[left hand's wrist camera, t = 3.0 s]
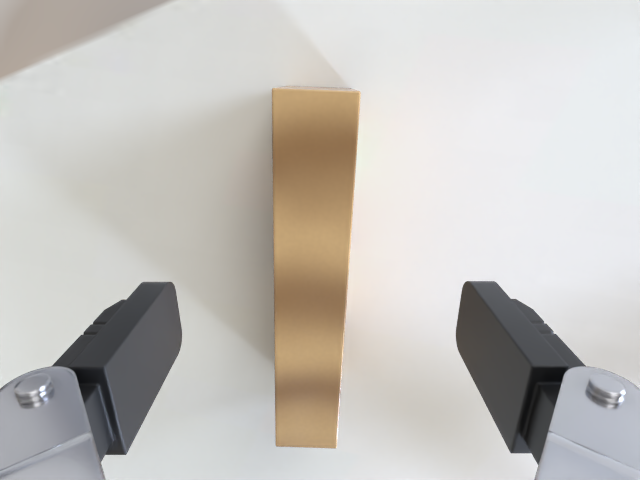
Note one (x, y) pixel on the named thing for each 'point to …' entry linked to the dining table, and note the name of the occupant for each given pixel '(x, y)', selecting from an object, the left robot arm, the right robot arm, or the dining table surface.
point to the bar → (311, 256)
